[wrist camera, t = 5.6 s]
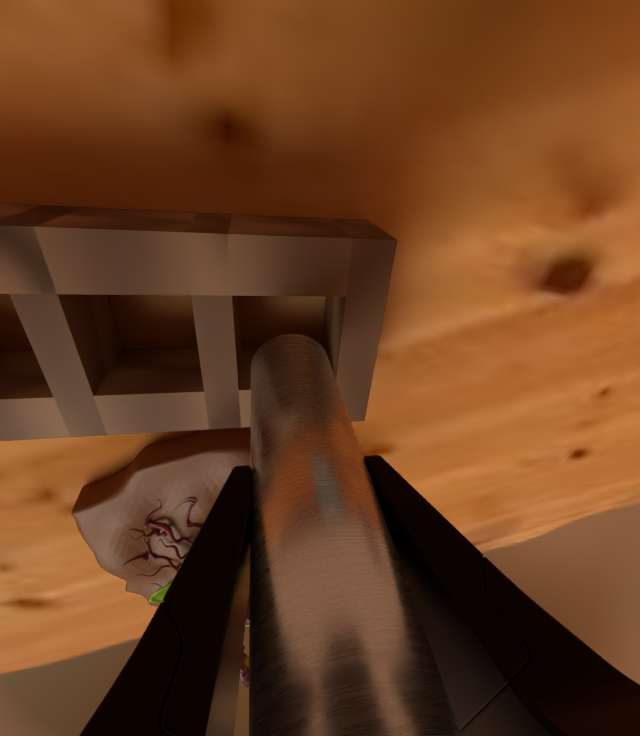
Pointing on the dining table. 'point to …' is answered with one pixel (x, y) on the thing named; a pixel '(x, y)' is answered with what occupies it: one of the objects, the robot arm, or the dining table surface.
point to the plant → (160, 510)
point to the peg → (326, 571)
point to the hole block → (172, 277)
